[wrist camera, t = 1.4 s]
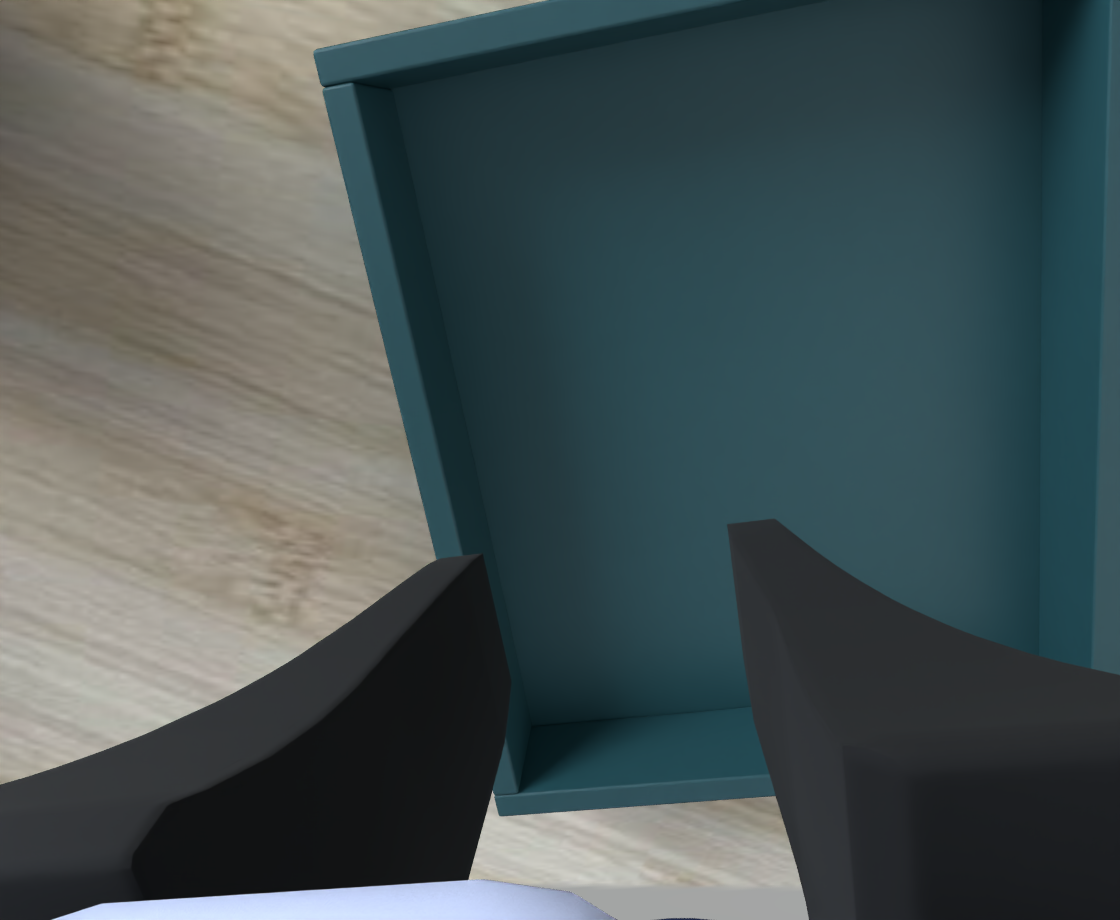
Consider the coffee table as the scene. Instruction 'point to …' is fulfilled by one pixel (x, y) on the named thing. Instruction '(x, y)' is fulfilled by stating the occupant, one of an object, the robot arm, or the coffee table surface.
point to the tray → (743, 338)
